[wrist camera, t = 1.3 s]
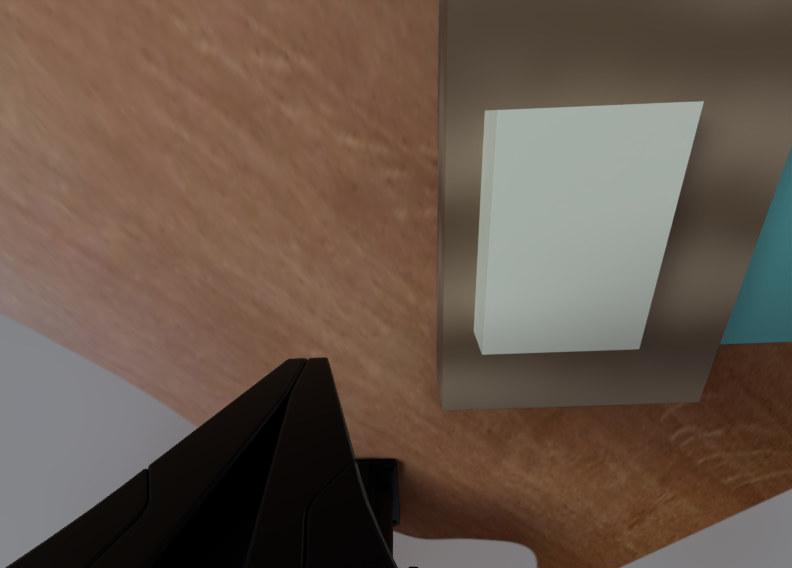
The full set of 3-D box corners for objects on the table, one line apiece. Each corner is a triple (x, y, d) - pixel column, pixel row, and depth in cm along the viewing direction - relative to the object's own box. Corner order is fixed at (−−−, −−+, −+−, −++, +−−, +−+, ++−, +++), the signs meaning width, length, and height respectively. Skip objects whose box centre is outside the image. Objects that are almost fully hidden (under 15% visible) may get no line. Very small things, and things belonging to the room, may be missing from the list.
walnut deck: (663, 368, 24) (698, 402, 21) (436, 376, 24) (442, 410, 21) (785, -38, 15) (870, -71, 13) (439, -22, 16) (448, -51, 13)
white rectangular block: (615, 326, 19) (639, 349, 17) (473, 331, 19) (481, 354, 17) (665, 102, 15) (703, 101, 13) (484, 110, 15) (497, 110, 13)
